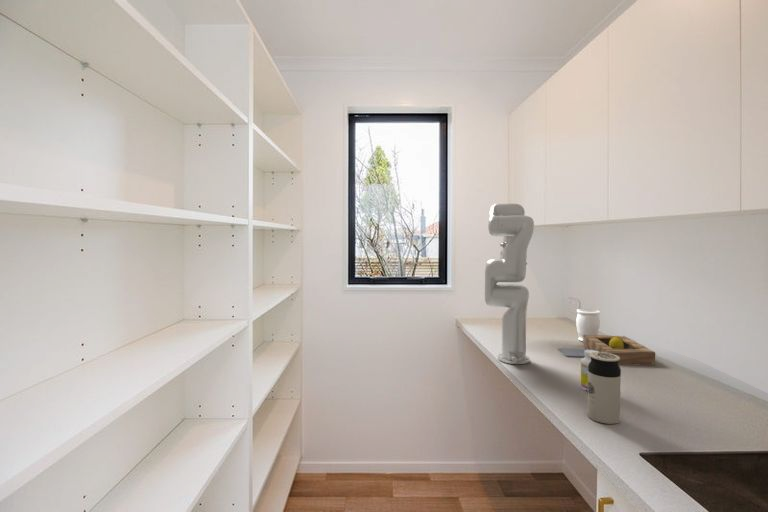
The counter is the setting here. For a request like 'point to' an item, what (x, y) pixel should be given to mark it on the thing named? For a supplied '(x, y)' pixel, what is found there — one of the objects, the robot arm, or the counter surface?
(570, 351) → the grey mat
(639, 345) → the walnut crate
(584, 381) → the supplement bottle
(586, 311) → the jar
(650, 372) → the counter surface
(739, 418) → the counter surface
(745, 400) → the counter surface
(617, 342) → the lemon
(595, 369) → the travel mug
